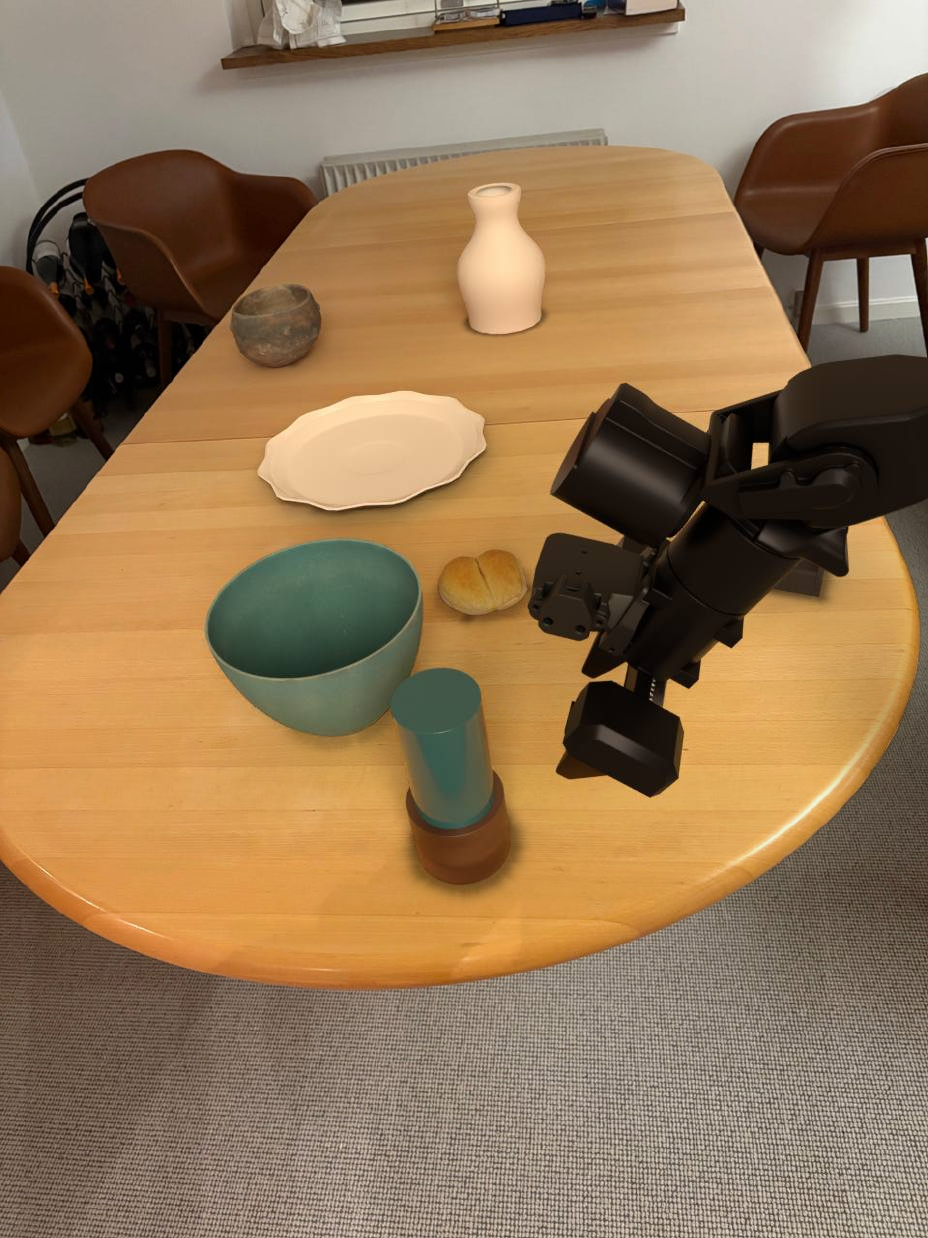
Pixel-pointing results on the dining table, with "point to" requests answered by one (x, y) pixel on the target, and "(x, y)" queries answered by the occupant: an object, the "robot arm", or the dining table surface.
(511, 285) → the vase
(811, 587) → the dark square tray
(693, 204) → the dining table surface
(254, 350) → the bowl
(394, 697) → the teal cylinder
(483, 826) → the stand
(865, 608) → the dining table surface
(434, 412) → the plate
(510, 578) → the bread roll
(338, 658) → the teal bowl
